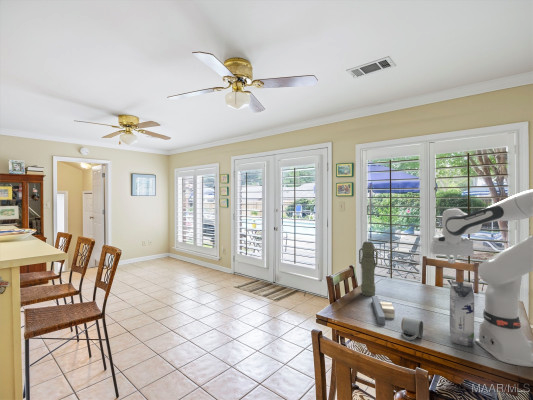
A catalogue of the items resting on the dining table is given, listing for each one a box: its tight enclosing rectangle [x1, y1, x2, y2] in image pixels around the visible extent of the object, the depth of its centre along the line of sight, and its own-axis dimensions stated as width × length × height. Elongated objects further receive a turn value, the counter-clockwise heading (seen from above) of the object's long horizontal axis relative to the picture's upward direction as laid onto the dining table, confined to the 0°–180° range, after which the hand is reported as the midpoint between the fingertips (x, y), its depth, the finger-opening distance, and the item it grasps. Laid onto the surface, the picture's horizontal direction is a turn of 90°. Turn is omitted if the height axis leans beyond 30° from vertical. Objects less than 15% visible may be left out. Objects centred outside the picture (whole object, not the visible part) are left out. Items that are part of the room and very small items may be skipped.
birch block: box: [379, 301, 396, 319], centre depth 153 cm, size 10×6×5 cm, turn 165°
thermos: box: [358, 241, 379, 297], centre depth 184 cm, size 9×12×35 cm
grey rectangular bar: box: [371, 295, 386, 326], centre depth 155 cm, size 30×3×4 cm, turn 165°
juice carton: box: [449, 280, 475, 348], centre depth 124 cm, size 9×10×27 cm
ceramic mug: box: [400, 316, 424, 341], centre depth 130 cm, size 11×8×8 cm
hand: (451, 262), depth 151 cm, fingers closed
